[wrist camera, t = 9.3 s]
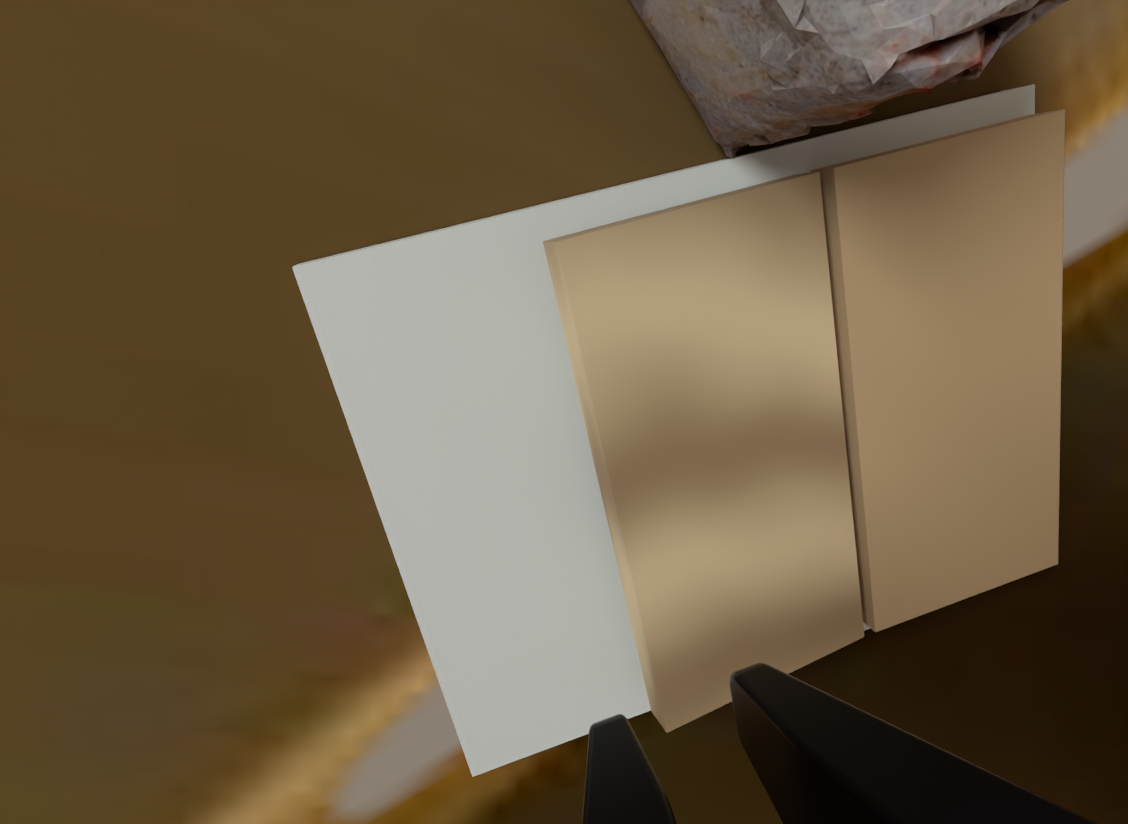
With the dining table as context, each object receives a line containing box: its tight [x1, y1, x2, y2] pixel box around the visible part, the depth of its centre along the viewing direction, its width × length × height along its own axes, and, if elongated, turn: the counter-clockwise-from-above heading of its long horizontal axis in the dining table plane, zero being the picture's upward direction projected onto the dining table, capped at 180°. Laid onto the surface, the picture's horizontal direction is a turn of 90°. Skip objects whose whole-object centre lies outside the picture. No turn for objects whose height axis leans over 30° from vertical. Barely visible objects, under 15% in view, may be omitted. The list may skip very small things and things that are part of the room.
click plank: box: [543, 172, 864, 733], centre depth 18 cm, size 14×7×1 cm, turn 14°
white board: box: [292, 84, 1065, 777], centre depth 19 cm, size 16×20×2 cm
